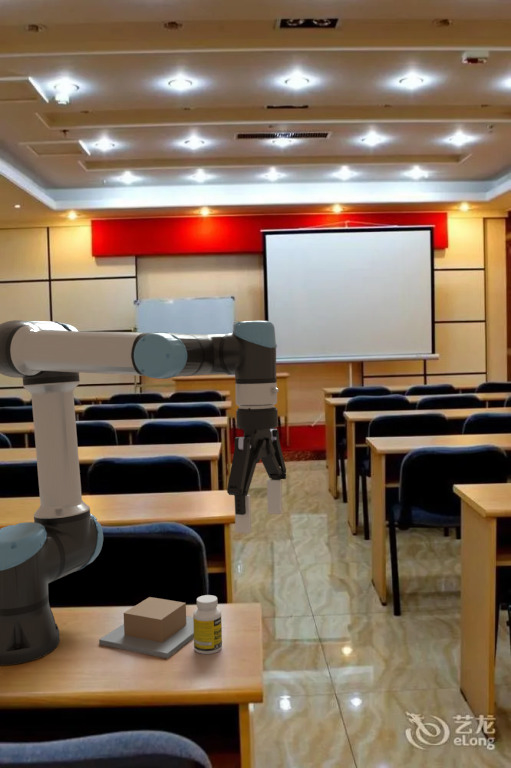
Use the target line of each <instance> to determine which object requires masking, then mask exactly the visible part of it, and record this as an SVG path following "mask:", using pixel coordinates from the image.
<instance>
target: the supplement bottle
mask: <svg viewBox="0 0 511 768" xmlns="http://www.w3.org/2000/svg"><path fill="white" fill-rule="evenodd" d="M192 614H193V616H192V617H193V624H194V638H193V648H194V651H195V652H196V653H198V654H202V655H212V654H216V653H219V651H220V650H221V649H222V647H223V635H222V634H223V630H222V628H223V627H222V624H223V623H222V611H221V609H220V608H219V607H218V597H217V596H216V595H211V594H205V595H201V596H198V597H197V598H196V609H195V610H194V611H193V613H192Z"/></svg>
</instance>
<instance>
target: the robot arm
mask: <svg viewBox="0 0 511 768" xmlns="http://www.w3.org/2000/svg"><path fill="white" fill-rule="evenodd" d="M277 347H278V345H277V341H276V330H275V326H274V323H272V322H271V321H268V320H244V321H236V322H235V323H234V325H233V329H232V332H230V333H212V334H211V333H208V334H206V333H205V334H203V333H201V334H198V333H176V332H175V333H174V332H165V331H164V332H162V331H157V332H136V331H135V332H129V331H128V332H127V331H125V332H124V331H88V330H87V331H85V330H83V331H82V330H81V331H80V330H78V329H77V328H76V327H75V326H73V325H71V324H68V323H63V322H58V321H41V320H40V321H39V320H37V321H36V320H34V321H33V320H32V321H31V320H21V319H19V320H17V319H16V320H9V321H5V322H2V323H0V374H1V375H3V376H5V377H8V378H16V379H19V378H20V379H22V387H23V388H24V389H25V390H26V391H27V392H29V394H30V395H31V404H32V405H31V406H32V417H33V427H34V431H33V432H34V441H35V442H34V443H35V453H36V464H37V478H38V489H39V490H38V492H39V504H40V505H39V507H38V508H37V509H36V511H35V512H34V514H33V521H34V522H32V521H31V522H30V521H29V522H19V523H16V524H13V525H12V524H9V525H8V526H4V527H2V528H0V666H11V665H18V664H22V663H23V664H24V663H27V662H31V661H34V660H37V659H40V658H42V657H44V656H46V655H48V654H50V653H51V652H53V651H54V650H55V649H56V648H57V647H58V646H59V644H60V642H61V639H60V629H59V626H58V624H57V622H56V620H55V617H54V614H53V611H52V608H51V606H50V602H49V584H50V583H52V582H55V581H57V580H58V579H59V580H60V579H61V578H63V577H66V576H68V575H69V574H72V573H74V572H77V571H81V570H82V569H84V568H85V567H87V566H88V565H90V564H91V563H93V562H94V561H95V560H96V558H97V557H98V556H99V554H100V553H101V551H102V547H103V542H104V533H103V532H104V531H103V527H102V525H101V523H100V522H98V518H96V516H95V515H93V514H92V513H91V507H90V505H88V504H87V503H85V502H84V501H83V497H82V484H81V483H82V482H81V474H80V473H81V470H80V459H79V458H80V457H79V447H78V435H77V434H78V433H77V424H76V423H77V422H76V409H75V408H76V407H75V398H74V390H75V389H76V387H78V386H79V384H81V383H80V382H81V381H80V373H83V374H100V375H101V374H102V375H104V374H105V375H120V376H122V375H123V376H124V375H125V376H143V377H144V376H145V377H148V378H149V379H150V378H151V379H158V380H165V379H171V378H178V377H180V378H181V377H193V376H195V377H196V376H205V375H206V376H209V375H234V378H235V380H234V381H235V405H236V406H238V407H237V409H236V410H235V412H236V414H235V415H236V428H237V429H239V430H243V436H238V437H237V436H236V437H235V438H234V450H233V457H232V461H231V466H230V467H231V468H230V472H229V478H228V483H227V489H226V492H227V494H228V495H229V496H234V520H235V521H234V522H235V523H234V527H235V529H234V530H235V533H242V534H244V533H245V534H251V533H252V510H251V509H252V508H251V507H252V503H251V502H252V501H251V494H249V491H250V487H251V483H252V480H253V477H254V472H255V470H256V467H257V464H258V463H260V461H261V462H262V465H263V466H264V468H265V472H266V474H267V476H268V479H266V494H267V495H266V497H267V498H266V501H267V504H266V505H267V514H270V515H282V514H283V495H282V494H283V493H282V480H286V479H287V468H286V464H285V459H284V454H283V451H282V446H281V443H280V442H281V441H280V437H279V436H280V435H279V429H277V428H278V426H279V422H278V421H279V419H278V418H279V417H278V416H279V413H278V409H277V407H275V405H277V404H278V393H279V392H280V391H279V388H277V387H278V385H277V383H278V381H277Z"/></svg>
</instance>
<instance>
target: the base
mask: <svg viewBox="0 0 511 768" xmlns="http://www.w3.org/2000/svg"><path fill="white" fill-rule="evenodd" d="M186 603H187V602H182V601H176V600H170V599H166V598H165V599H164V598H159V597H158V598H157V597H151V596H149V597H147V598H146V599H144V600H142V601H141V602H138V604H136V605H134V606H133V607H131V608H129V609H128V610H126V611H125V612H123V623H122V624H121V625H120V626H118V627H116V628H115V629H114V630H113V629H112V631H109V632H108V633H107V634H105V635H104V636H102V637H100V638H99V640H98V644H99V645H101V646H106V647H109V648H110V647H111V648H115V649H119V650H120V649H121V650H123V651H124V650H125V651H129V652H133V653H134V652H135V653H140V654H144V655H148V656H149V655H150V656H154V657H158V658H162V659H163V658H164V659H166V660H167V659H169V658H170V657H172V656H173V655H174V654H175V653H176V652H178V651H179V650H180V649H182V648H183V647H184V646H185V645H186V644H188V643H189V642H190V641H191V640H194V624H193V616H188V615H187V604H186Z"/></svg>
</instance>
